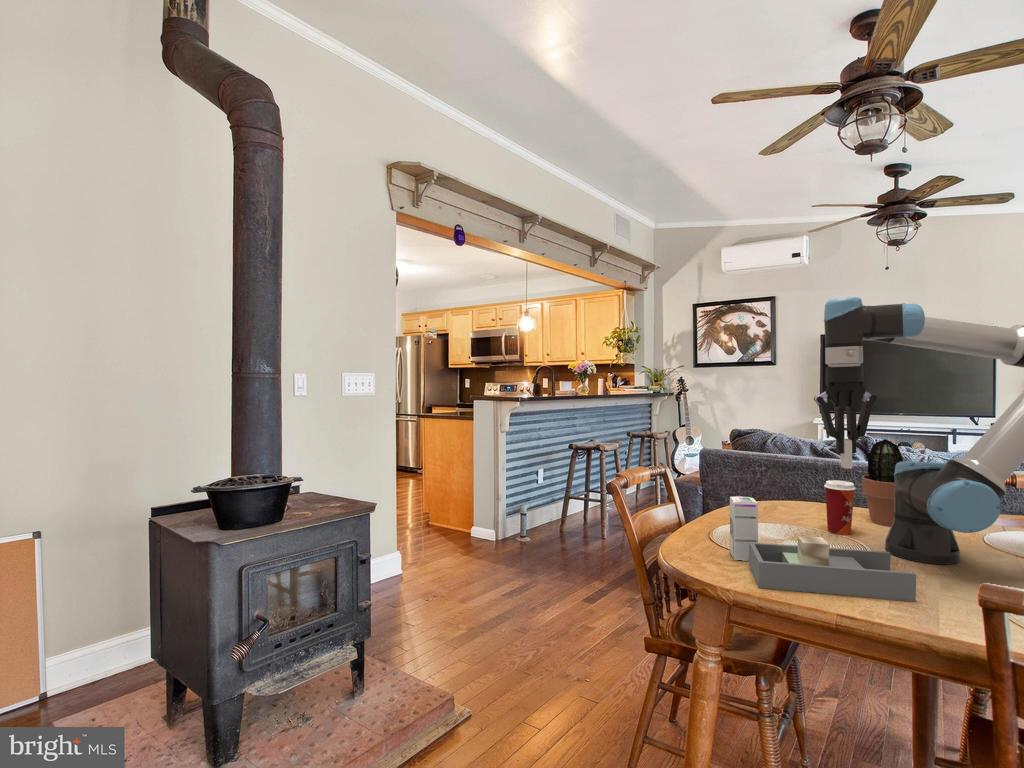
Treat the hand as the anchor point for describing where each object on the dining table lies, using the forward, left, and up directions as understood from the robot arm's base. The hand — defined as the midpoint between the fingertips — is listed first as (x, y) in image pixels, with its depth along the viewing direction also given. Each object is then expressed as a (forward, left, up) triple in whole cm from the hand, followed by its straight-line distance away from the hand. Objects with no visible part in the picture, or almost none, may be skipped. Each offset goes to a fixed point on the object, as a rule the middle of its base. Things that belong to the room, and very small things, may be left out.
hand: (846, 467), depth 132 cm
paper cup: (-7, -30, -24) cm, 39 cm away
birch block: (+10, +11, -19) cm, 24 cm away
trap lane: (+7, +11, -23) cm, 27 cm away
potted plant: (-24, -44, -24) cm, 56 cm away
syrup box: (+22, -1, -24) cm, 32 cm away
